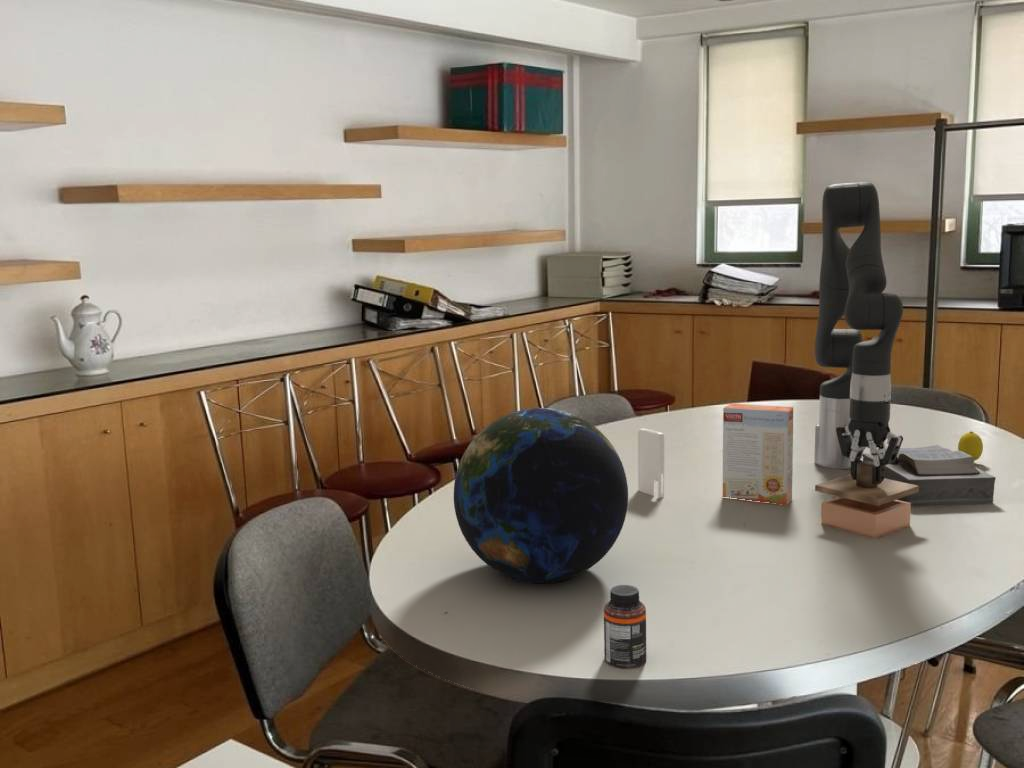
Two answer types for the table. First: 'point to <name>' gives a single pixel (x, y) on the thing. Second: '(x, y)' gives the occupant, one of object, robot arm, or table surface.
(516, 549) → the globe
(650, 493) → the phone case
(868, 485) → the lid
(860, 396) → the robot arm
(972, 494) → the bible
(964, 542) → the table surface
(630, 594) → the supplement bottle
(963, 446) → the lemon
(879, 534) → the dish
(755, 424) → the cracker box
